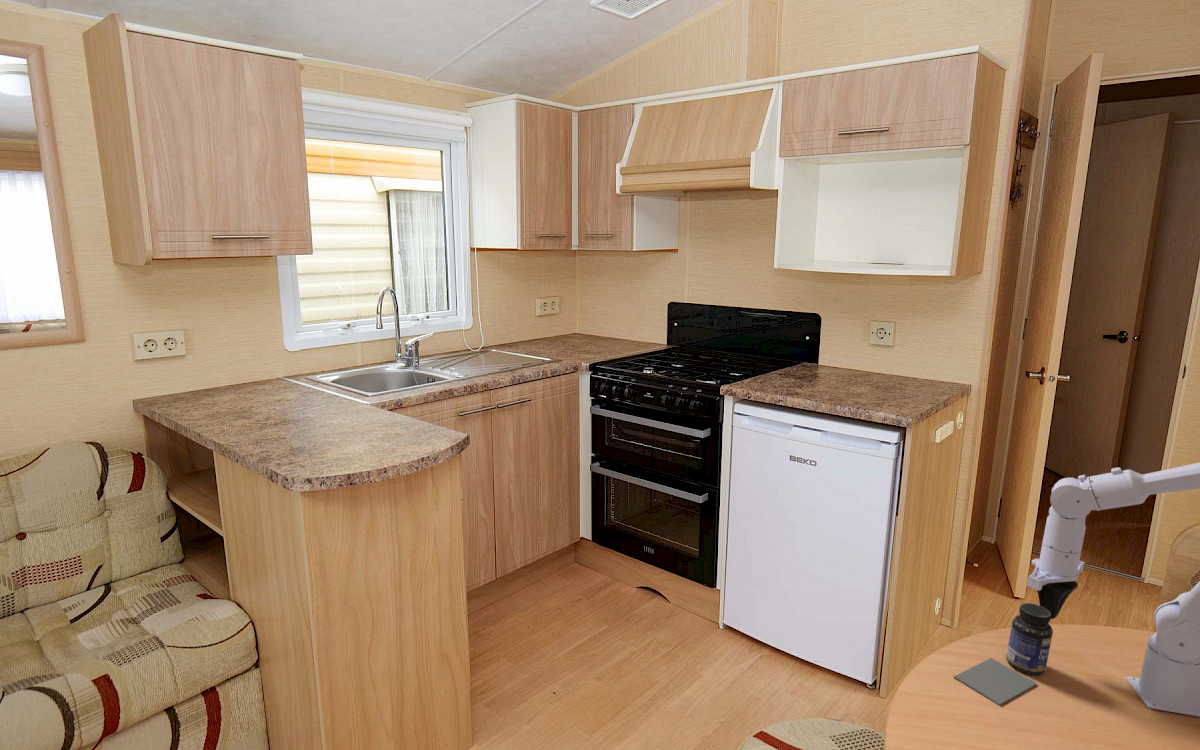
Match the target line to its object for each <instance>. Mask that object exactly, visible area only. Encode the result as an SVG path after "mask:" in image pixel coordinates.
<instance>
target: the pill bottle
mask: <svg viewBox="0 0 1200 750" xmlns="http://www.w3.org/2000/svg"><path fill="white" fill-rule="evenodd" d="M1019 606H1020V607H1019V609H1018V612H1019V614H1018V615H1016V616H1014V618H1013V619H1012V623H1011V628H1010V633H1009V640H1008V645H1007V651H1006V655H1005V659H1006V661H1007V663H1008V665H1009V666H1010V667H1011V668H1013V669H1015V670H1017V671H1018V672H1020V673H1023V674H1026V675H1029V676H1042V675H1044V673H1045V672H1046V670H1047V669H1046V668H1047V665H1048V659H1049V655H1050V649H1051V645H1052V644H1051V643H1052V638H1053V632H1054V630H1053V627H1052V626H1051V625H1050V624H1049V623H1050V622H1051V620H1052V619H1051V613H1050V611H1049V610H1047V609H1046V608H1044V607H1042V606H1040V604H1035V603H1029V602H1027V603H1021V604H1020V605H1019Z"/></svg>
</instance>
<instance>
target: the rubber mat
mask: <svg viewBox="0 0 1200 750" xmlns="http://www.w3.org/2000/svg"><path fill="white" fill-rule="evenodd" d="M953 679H954V680H957V681H958V682H960V683H962V684H964V686H967V687H968V688H969V689H972V690H973V691H975V692H976V693H978V694H980V695H981V696H983V697H984V698H986V699H988V700H989V701H991V702H993V703H995V704H996V705H998V706H999V707H1000V706H1002V705H1004V704H1006V703H1008V702H1009V701H1011V700H1013V699H1014V698H1016V697H1018V696H1020V695H1021V694H1023V693H1025V692H1027V691H1029V690H1030V689H1032V688H1034V687H1035V686H1037V685H1038V683H1037V682H1035V681H1034V680H1032V679H1029V678H1028V677H1026V676H1025V675H1023V674H1021V673H1019V672H1017V671H1015V670H1013V669H1012V668H1010V667H1008V666H1006V665H1005V664H1003V663H1001V662H1000V661H997V660H996V659H994V658H993V657H990V658H989V659H986V660H985V661H982V662H980V663H978V664H976V665H974V666H972V667H970V668H968V669H966V670H964V671H962V672H960V673H958V674H956V675H954V676H953Z"/></svg>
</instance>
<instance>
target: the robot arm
mask: <svg viewBox="0 0 1200 750" xmlns="http://www.w3.org/2000/svg"><path fill="white" fill-rule="evenodd" d="M1121 468H1122V467H1120V466H1119V467H1112V468H1111V470H1110V471H1111V472H1107V473H1101V474H1097V475H1090V476H1087V475H1086V474H1082V475H1078V478H1075V477H1064V478H1061V479H1059V480H1058V481H1057V482H1055V484H1054V485H1053V487H1051V494H1050V498H1049V499H1050V505H1051V506H1050V507H1049V509H1048V515H1047V517H1046V523H1045V527H1044V532H1043V533H1044V534H1043V538H1042V543H1041V550H1040V554H1039V555H1040V556H1039V558H1034V559H1032V560H1031V565H1033V566H1035V568H1034V570H1033V572H1032V573H1031V574H1029V576H1028V579H1027V584H1026V585H1027V587H1029V588H1032V589H1033V590H1036V591H1037V596H1038V601H1039V603H1038V605H1039V606H1042V607H1044V608H1046V609H1047V610H1049V611H1050V613H1051V619H1050V620H1055V619H1056V618H1057V617H1058V615H1059V614H1060V612H1061V610H1062V608H1063V606H1064V604H1065V602H1066V601H1067V599H1068V598H1069V596H1070V595H1071V594H1072V593H1073V591H1075V590H1076V589H1077V588H1078V585H1079V583H1078V582H1077V579H1078V578H1079V575H1080V573H1081V574H1082V573H1083V572H1084V568H1085V561H1082V560H1080V559H1081V554H1082V549H1083V545H1084V538H1085V533H1086V528H1087V526H1086V518H1087V515H1089V514H1090V513H1091V511H1104V510H1111V509H1117V508H1123V507H1128V506H1129V507H1130V506H1136V505H1142V504H1144V503H1145V502H1146V501H1147V500H1146V499H1147V498H1148V497H1149V496H1150V495H1157V494H1166V493H1174V492H1183V491H1192V490H1199V489H1200V462H1195V463H1191V464H1187V465H1185V464H1184V465H1182V466H1177V467H1172V468H1168V469H1163V470H1159V471H1153V472H1149V473H1145V474H1142V473H1139V472H1136V471H1134V470H1132V469H1124V470H1122V469H1121ZM1153 617H1154V618H1153V619H1154V623H1155V626H1156V632H1155V633H1154V634H1152V635H1151V636H1149V637H1148V639H1147V644H1146V648H1145V649H1146V650H1145V652H1144V658H1143V661H1142V666H1141V671H1140V675H1139V677H1135V676H1127V677H1126V680H1127V681H1128V683H1129V684H1130V685H1131V687H1132V688H1133V689H1134V691H1135V692H1136V694H1137V695H1138V696H1139V698H1140V699H1141V700H1142V701H1143V702H1144V704H1145V706H1147V708H1149V709H1153V710H1160V711H1165V712H1169V713H1170V712H1171V713H1175V714H1182V715H1187V716H1193V717H1199V718H1200V580H1199V581H1198V582H1197V583H1196V584H1195V585H1194V587H1192V588H1191V590H1190V591H1186V592H1183V593H1180V594H1179V595H1178V596H1177V597H1176V598H1175V599H1173V600H1172V601H1168V602H1164V603H1163V604H1160V605H1159V606H1158V607H1157V608H1156V609H1155V611H1154V615H1153Z"/></svg>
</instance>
